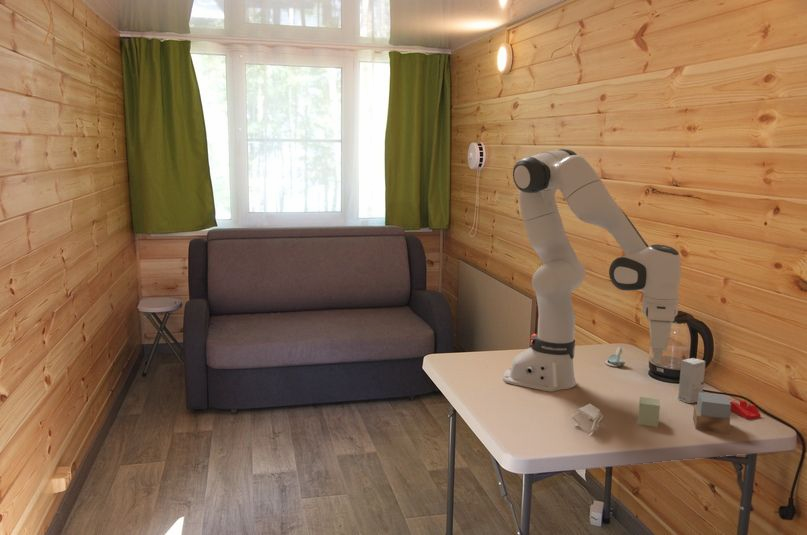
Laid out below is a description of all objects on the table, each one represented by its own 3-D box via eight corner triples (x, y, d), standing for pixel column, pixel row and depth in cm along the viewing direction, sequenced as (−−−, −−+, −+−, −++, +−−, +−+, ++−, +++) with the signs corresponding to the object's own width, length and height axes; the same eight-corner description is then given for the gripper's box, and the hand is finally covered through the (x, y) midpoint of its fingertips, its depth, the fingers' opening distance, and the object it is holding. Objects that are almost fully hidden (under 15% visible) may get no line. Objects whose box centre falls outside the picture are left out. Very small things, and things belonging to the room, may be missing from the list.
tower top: (700, 415, 179) (702, 401, 179) (697, 406, 186) (698, 392, 185) (729, 419, 178) (731, 404, 177) (724, 409, 184) (726, 395, 183)
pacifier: (608, 368, 228) (626, 368, 228) (609, 350, 227) (627, 350, 227) (602, 361, 236) (619, 361, 235) (603, 344, 234) (620, 343, 234)
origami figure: (565, 420, 184) (566, 403, 183) (594, 419, 185) (595, 402, 184) (581, 439, 173) (583, 421, 172) (613, 438, 174) (614, 420, 173)
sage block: (638, 424, 182) (640, 403, 181) (638, 417, 187) (639, 396, 186) (657, 427, 181) (659, 405, 180) (657, 420, 186) (659, 399, 184)
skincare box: (690, 404, 197) (694, 364, 195) (676, 399, 201) (680, 360, 199) (702, 400, 201) (707, 361, 198) (689, 395, 204) (693, 356, 202)
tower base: (695, 429, 180) (697, 415, 179) (692, 418, 188) (694, 404, 187) (728, 434, 178) (730, 420, 177) (724, 422, 185) (726, 409, 184)
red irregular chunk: (728, 411, 193) (730, 401, 193) (742, 410, 195) (743, 400, 194) (746, 420, 187) (747, 410, 187) (760, 418, 189) (761, 408, 188)
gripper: (646, 297, 189) (643, 345, 192) (648, 314, 170) (644, 367, 173) (670, 299, 187) (667, 347, 190) (675, 316, 168) (671, 370, 171)
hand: (656, 357), depth 181 cm, fingers open, 8 cm apart
